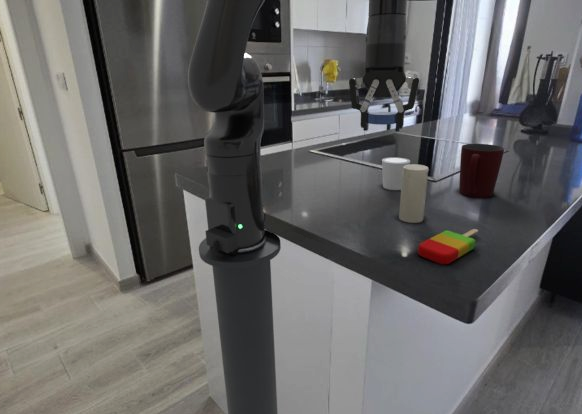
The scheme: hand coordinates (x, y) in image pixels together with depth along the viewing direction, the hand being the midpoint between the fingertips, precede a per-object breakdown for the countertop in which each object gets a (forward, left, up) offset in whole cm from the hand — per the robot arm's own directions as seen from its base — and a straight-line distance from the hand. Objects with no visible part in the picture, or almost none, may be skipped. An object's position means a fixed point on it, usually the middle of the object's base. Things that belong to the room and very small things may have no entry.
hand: (381, 130), depth 79 cm
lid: (0, 0, +3) cm, 3 cm away
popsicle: (-12, -20, -16) cm, 29 cm away
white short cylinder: (+14, +3, -16) cm, 22 cm away
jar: (-4, -9, -16) cm, 19 cm away
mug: (+19, -15, -16) cm, 30 cm away
